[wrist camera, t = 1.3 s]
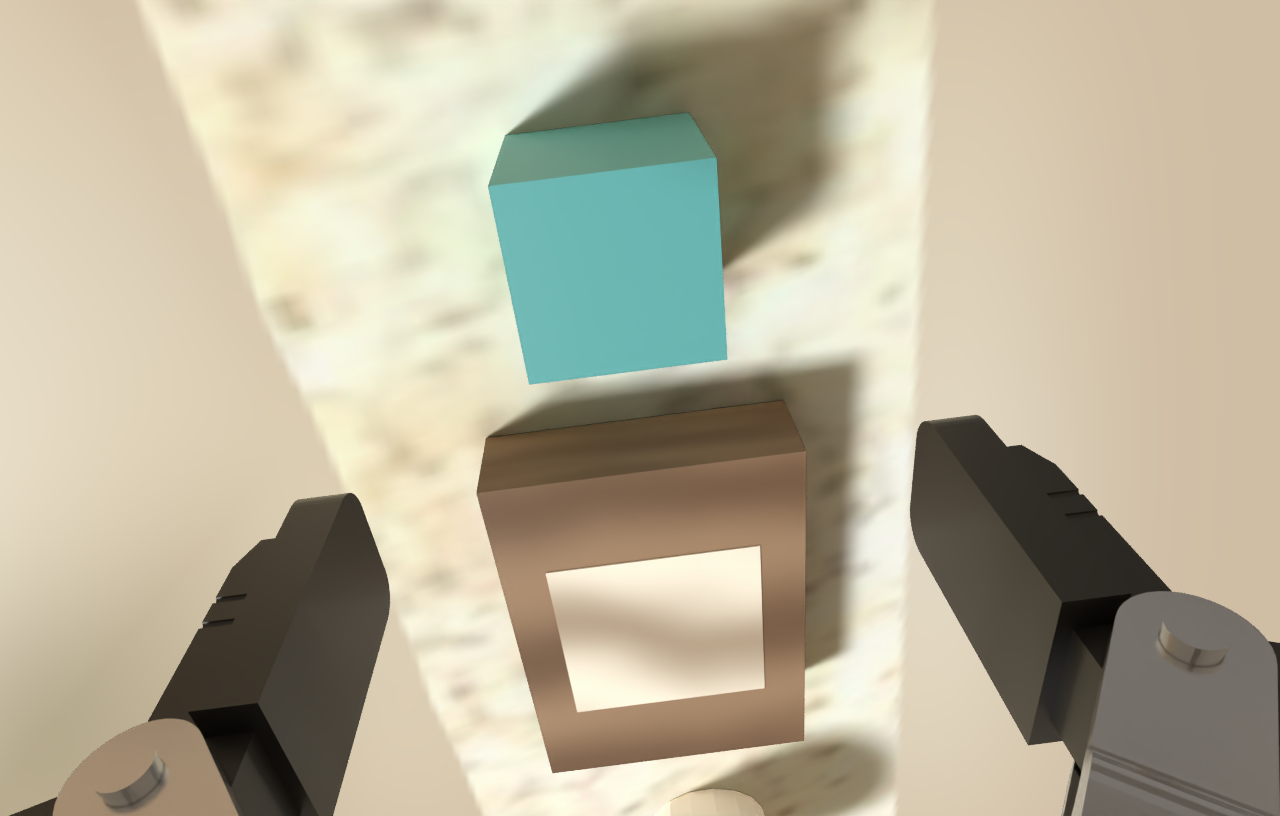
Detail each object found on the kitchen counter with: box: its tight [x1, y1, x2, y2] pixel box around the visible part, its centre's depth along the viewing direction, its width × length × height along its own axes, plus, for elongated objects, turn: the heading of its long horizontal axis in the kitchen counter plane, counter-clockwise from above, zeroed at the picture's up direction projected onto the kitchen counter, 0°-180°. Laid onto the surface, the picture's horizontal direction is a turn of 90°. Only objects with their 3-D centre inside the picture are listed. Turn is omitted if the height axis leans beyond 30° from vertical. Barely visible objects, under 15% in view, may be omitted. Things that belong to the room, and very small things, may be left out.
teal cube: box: [488, 112, 727, 385], centre depth 20 cm, size 5×5×5 cm
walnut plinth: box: [477, 400, 806, 773], centre depth 29 cm, size 14×10×3 cm
